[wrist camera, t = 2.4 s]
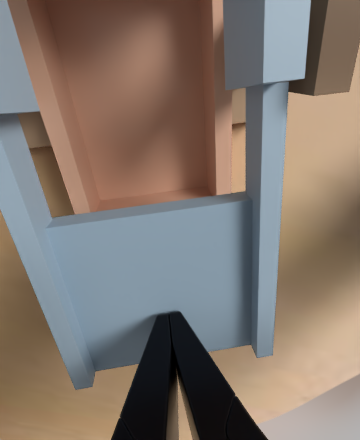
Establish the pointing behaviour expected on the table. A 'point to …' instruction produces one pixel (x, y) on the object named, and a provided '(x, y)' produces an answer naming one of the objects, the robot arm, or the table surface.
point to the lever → (161, 217)
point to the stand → (311, 85)
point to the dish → (131, 97)
